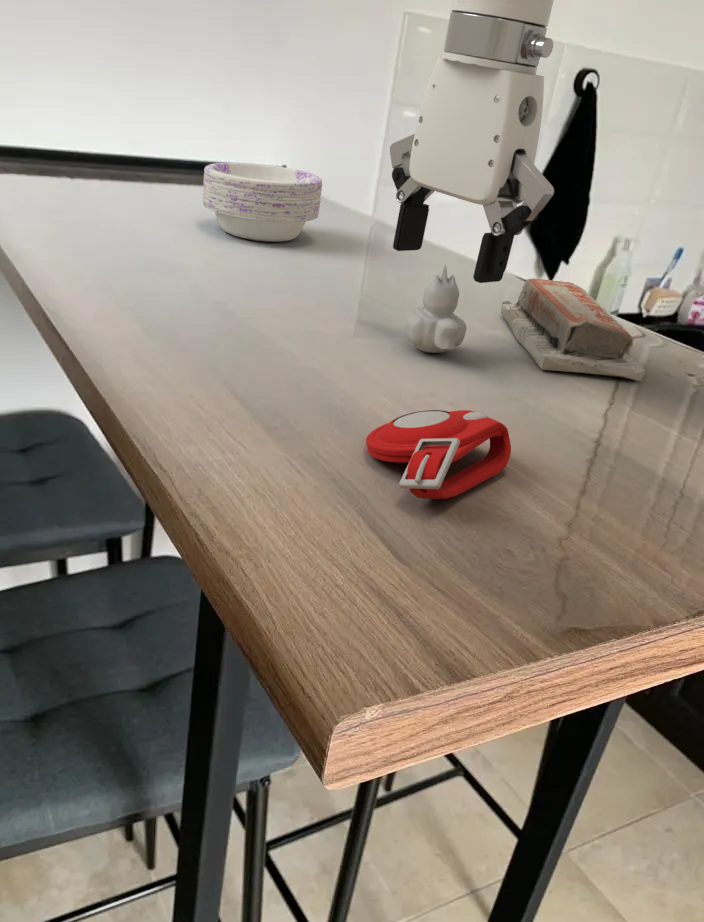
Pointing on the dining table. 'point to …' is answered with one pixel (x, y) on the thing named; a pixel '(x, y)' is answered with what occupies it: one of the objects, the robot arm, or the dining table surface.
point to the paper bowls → (261, 199)
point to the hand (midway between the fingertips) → (445, 264)
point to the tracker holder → (440, 449)
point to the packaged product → (570, 331)
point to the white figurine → (437, 317)
